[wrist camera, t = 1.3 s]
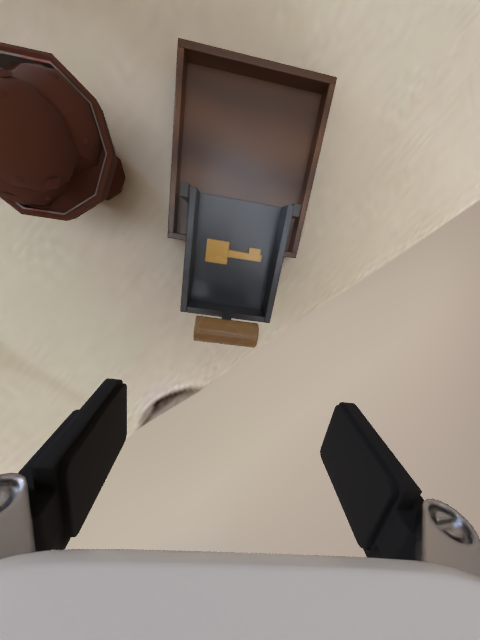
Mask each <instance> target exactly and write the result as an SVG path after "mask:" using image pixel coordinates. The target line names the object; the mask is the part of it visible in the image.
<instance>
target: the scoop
mask: <svg viewBox="0 0 480 640" xmlns="http://www.w3.org/2000/svg"><path fill="white" fill-rule="evenodd" d="M293 211H294V205H290V204H288V205H286V206H284V207H276V206H271V205H266V204H260V203H255V202H249V201H244V200H238V199H233V198H228V197H222V196H217V195H211V194H206V193H200V192H199V190H198V188H197V187H193V186H190V192H189V205H188V218H187V231H186V244H185V257H184V270H183V284H182V297H181V310H180V311H181V312H189V313H196V314H204V315H212V316H219V317H222V319H218V318H211V317H203V316H197V317H196V321H195V327H194V340H195V341H203V342H212V343H220V344H229V345H237V346H245V347H255V346H256V344H257V340H258V332H259V327H258V324H257V323H249V322H241V321H234V320H231V318H235V319H242V320H250V321H258V322H265V323H270V319H271V314H272V309H273V305H274V300H275V295H276V291H277V286H278V281H279V276H280V272H281V267H282V262H283V258H284V253H285V248H286V243H287V239H288V234H289V229H290V225H291V220H292V215H293ZM208 238H209V239H215V240H221V241H227V242H230V243H229V250H233V251H240V252H246V253H248V251H249V247H250V248H257V249H261V253H260V255H262V258H261V262H256V261H249V260H243V259H237V258H230V257H228V258H227V264H219V263H213V262H206V261H205V255H206V246H207V239H208Z"/></svg>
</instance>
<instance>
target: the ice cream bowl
mask: <svg viewBox="0 0 480 640" xmlns="http://www.w3.org/2000/svg"><path fill="white" fill-rule="evenodd" d="M124 180H125V175H124V172H123V168H122V165H121V161H120V159H119V158H118V157H117V156H116V154H115V150H114V147H113V144H112V140H111V137H110V134H109V130H108V127H107V124H106V120H105V117H104V113H103V111H102V109H101V107H100V105H99V104H98V102H97V100H96V99H95V98H94V97H93V96H92V95H91V93H90V92H89V91H88V90H87V89H86V88H85V87H84V86H83V85H82V84H81V83H80V82H79V81H78V80H77V79H76V78H75V77H74V76H73V75H72V74H71V73H70V72H69V71H68V70H67V69H66V68H65V67H64V66H63V65H62V64H61V63H60V62H59V61H58V60H57V59H56V58H55V57H54V56H53V55H52V54H51V53H47V52H42V51H37V50H33V49H28V48H24V47H19V46H15V45H10V44H5V43H1V42H0V197H1V198H2V199H3V200H5V201H6V202H7V203H8V204H10V205H11V206H12V207H14V208H15V209H16V210H17V211H19V212H20V213H21V214H26V215H32V216H39V217H45V218H52V219H58V220H65V221H67V220H71V219H75V218H77V217H79V216H80V215H82V214H83V213H85V212H87V211H88V210H90V209H92V208H93V207H95V206H96V205H98V204H100V203H101V202H103V201H104V200H109V199H111V198H113V197H114V196H116V195H117V194H119V193H121V190H122V186H123V183H124Z"/></svg>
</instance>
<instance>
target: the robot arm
mask: <svg viewBox="0 0 480 640" xmlns="http://www.w3.org/2000/svg"><path fill="white" fill-rule="evenodd" d="M126 435H127V385H126V384H123V382H122V380H117V379H106V380H105V381H104V382H103V383H102V384H101V385H100V387H99V388H98V389H97V390H96V391H95V392H94V394H93V395H92V396H91V397H90V398H89V399H88V401H87V402H86V403H85V404H84V405H83V406H82V407H81V409H80V410H75V411H73V412H72V413H71V414H70V415H69V417H68V418H67V419H66V420H65V421H64V422H63V423H62V424H61V425H60V427H59V428H58V429H57V430H56V431H55V432H54V433H53V434H52V436H51V437H50V438H49V439H48V440H47V441H46V442H45V443H44V445H43V446H42V447H41V448H40V449H39V450H38V451H37V452H36V454H35V455H34V456H33V457H32V458H31V459H30V460H29V461H28V462H27V464H26V465H25V466H24V467H23V468H22V469H21V470H20V471H19V473H18V474H17V473H7V474H1V475H0V640H480V539H479V536H478V534H477V532H476V531H475V530H474V528H473V526H472V525H471V524H470V523H469V522H468V521H467V520H466V519H465V518H464V517H463V516H462V515H461V514H460V513H459V512H458V511H456V510H455V509H453V508H452V507H451V506H449V505H448V504H445V503H443V502H441V501H439V500H435V499H427V500H425V501H424V500H423V498H422V497H421V496H420V494H421V493H422V491H421V490H420V488H419V487H418V486H417V484H416V483H415V482H414V481H413V479H412V478H411V477H410V475H409V474H408V473H407V471H406V470H405V469H404V467H403V466H402V465H401V464H400V462H399V461H398V460H397V458H396V457H395V456H394V454H393V453H392V452H391V451H390V450H389V448H388V447H387V445H386V444H385V443H384V441H383V440H382V439H381V438H380V436H379V435H378V434H377V432H376V431H375V429H374V428H373V427H372V426H371V424H370V423H369V422H368V421H367V419H366V418H365V416H364V415H363V414H362V413H361V411H360V410H359V409H358V407H357V406H356V405H355V404H353V403H344V402H341V403H340V404H339V405H337V406H336V407H335V409H334V412H333V415H332V418H331V421H330V424H329V427H328V429H327V432H326V435H325V438H324V441H323V444H322V447H321V451H320V453H321V458H322V461H323V463H324V465H325V468H326V470H327V472H328V475H329V477H330V479H331V482H332V484H333V486H334V489H335V491H336V494H337V496H338V498H339V501H340V503H341V505H342V507H343V510H344V512H345V515H346V517H347V519H348V522H349V524H350V526H351V529H352V531H353V533H354V536H355V538H356V540H357V543H358V544H359V546H360V547H361V548H363V549H364V551H365V554H366V556H367V557H342V556H318V555H291V554H264V553H233V552H202V551H166V550H129V549H127V550H124V549H121V550H120V549H71V550H69V549H68V550H64V549H65V548H66V546H67V544H68V542H69V540H70V538H71V537H75V536H77V534H78V533H79V531H80V529H81V527H82V525H83V523H84V521H85V519H86V517H87V515H88V513H89V511H90V509H91V508H92V505H93V504H94V502H95V499H96V498H97V496H98V494H99V492H100V490H101V487H102V486H103V484H104V482H105V480H106V478H107V476H108V474H109V472H110V470H111V468H112V466H113V464H114V462H115V460H116V458H117V456H118V454H119V452H120V450H121V448H122V446H123V444H124V442H125V439H126Z"/></svg>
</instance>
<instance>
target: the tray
mask: <svg viewBox="0 0 480 640" xmlns="http://www.w3.org/2000/svg"><path fill="white" fill-rule="evenodd" d="M336 79H337V77H333V76H329V75H325V74H321V73H317V72H313V71H309V70H305V69H301V68H297V67H293V66H289V65H285V64H281V63H277V62H273V61H269V60H265V59H261V58H257V57H253V56H249V55H245V54H241V53H237V52H233V51H229V50H225V49H221V48H217V47H213V46H209V45H204V44H200V43H196V42H192V41H188V40H184V39H180V38H178V49H177V69H176V88H175V107H174V126H173V145H172V164H171V183H170V203H169V222H168V238H174V239H180V240H186V231H187V218H188V205H189V192H190V186H193V187H197V188H198V190H199V192H200V193H206V194H211V195H217V196H222V197H228V198H233V199H238V200H244V201H249V202H255V203H260V204H266V205H271V206H276V207H284V206H286V205H288V204H290V205H294V211H293V215H292V220H291V225H290V229H289V234H288V239H287V243H286V248H285V253H284V256H285V257H292V258H296V254H297V250H298V246H299V241H300V237H301V232H302V228H303V224H304V219H305V215H306V211H307V206H308V202H309V198H310V193H311V189H312V184H313V180H314V176H315V171H316V167H317V163H318V158H319V154H320V150H321V145H322V141H323V136H324V132H325V128H326V123H327V119H328V115H329V110H330V106H331V102H332V97H333V93H334V88H335V84H336Z"/></svg>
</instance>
